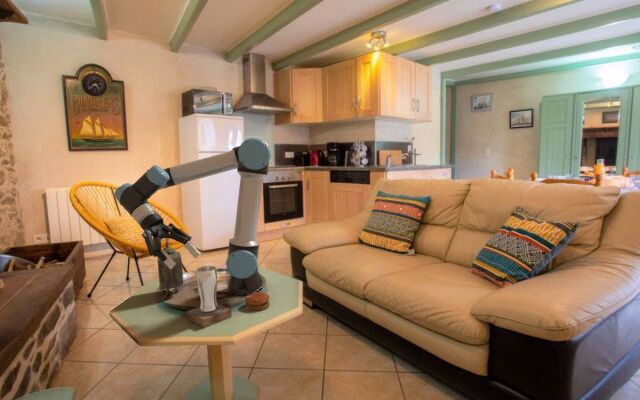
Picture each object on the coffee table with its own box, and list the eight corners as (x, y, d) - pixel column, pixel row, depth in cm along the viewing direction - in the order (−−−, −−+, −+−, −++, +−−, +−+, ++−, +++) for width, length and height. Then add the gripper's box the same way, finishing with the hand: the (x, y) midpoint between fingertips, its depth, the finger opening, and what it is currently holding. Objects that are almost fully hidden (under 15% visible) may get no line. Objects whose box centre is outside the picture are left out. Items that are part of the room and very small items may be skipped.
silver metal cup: (208, 314, 124) (205, 272, 122) (194, 311, 127) (191, 270, 126) (223, 307, 130) (220, 267, 128) (209, 303, 133) (206, 264, 132)
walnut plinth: (214, 309, 137) (214, 300, 136) (231, 317, 129) (230, 308, 129) (187, 319, 128) (186, 310, 128) (203, 328, 121) (202, 319, 121)
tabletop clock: (160, 290, 159) (155, 234, 156) (182, 286, 163) (177, 232, 160) (160, 301, 146) (155, 241, 143) (184, 297, 150) (180, 238, 147)
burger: (272, 309, 135) (271, 297, 135) (247, 313, 133) (246, 301, 132) (267, 299, 145) (266, 288, 144) (244, 303, 142) (243, 292, 141)
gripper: (166, 220, 144) (201, 258, 142) (114, 232, 121) (155, 279, 118) (176, 207, 142) (212, 245, 140) (126, 217, 119) (167, 264, 116)
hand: (186, 261), depth 129 cm, fingers open, 13 cm apart
